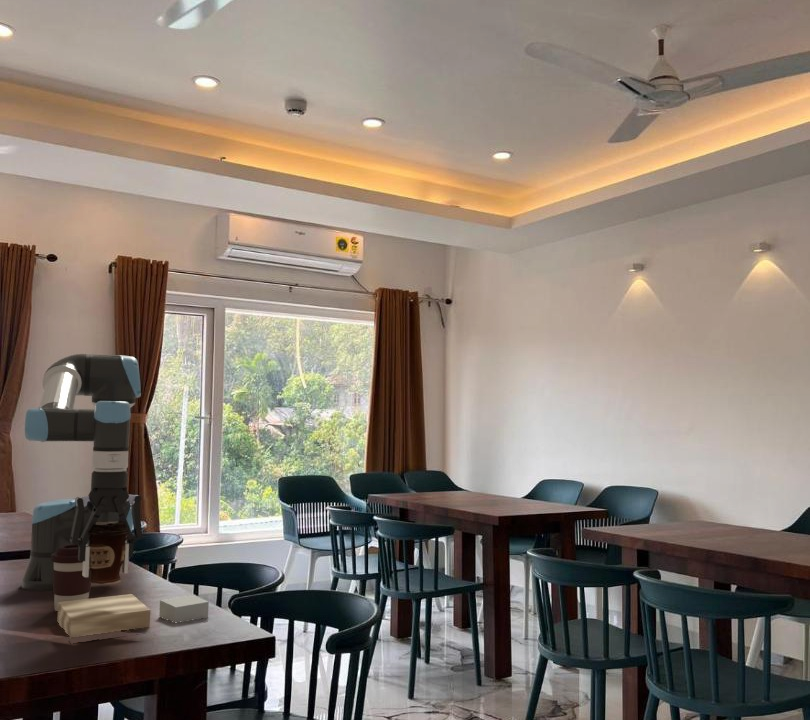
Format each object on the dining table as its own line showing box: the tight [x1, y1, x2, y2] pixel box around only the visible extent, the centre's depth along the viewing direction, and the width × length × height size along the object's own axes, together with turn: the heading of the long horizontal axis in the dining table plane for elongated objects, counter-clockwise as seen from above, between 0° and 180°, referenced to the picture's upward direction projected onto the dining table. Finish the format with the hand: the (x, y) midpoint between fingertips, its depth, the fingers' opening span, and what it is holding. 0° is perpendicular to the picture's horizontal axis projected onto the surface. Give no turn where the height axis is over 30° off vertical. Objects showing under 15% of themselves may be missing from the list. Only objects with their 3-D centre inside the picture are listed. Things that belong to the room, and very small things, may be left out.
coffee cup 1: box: [51, 544, 92, 612], centre depth 184 cm, size 10×10×15 cm
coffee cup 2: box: [88, 521, 129, 585], centre depth 169 cm, size 9×8×13 cm
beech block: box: [56, 593, 151, 638], centre depth 168 cm, size 16×16×5 cm
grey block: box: [158, 594, 210, 623], centre depth 175 cm, size 8×8×5 cm
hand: (105, 574), depth 169 cm, fingers closed on coffee cup 2, 7 cm apart
